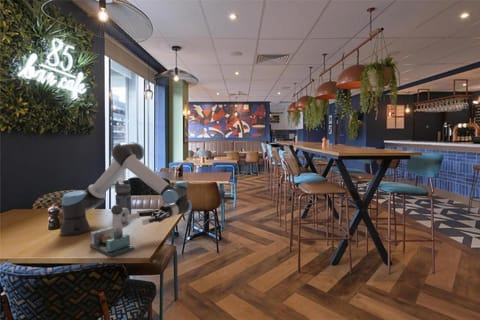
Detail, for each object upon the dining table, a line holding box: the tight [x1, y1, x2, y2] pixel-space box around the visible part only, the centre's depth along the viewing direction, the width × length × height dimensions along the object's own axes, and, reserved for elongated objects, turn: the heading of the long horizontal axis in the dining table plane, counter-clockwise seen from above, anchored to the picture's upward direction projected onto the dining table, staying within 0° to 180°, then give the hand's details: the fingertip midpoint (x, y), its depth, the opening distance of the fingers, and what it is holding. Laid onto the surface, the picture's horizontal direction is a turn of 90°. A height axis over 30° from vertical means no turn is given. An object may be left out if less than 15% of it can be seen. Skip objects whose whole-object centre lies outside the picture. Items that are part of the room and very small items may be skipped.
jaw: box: [106, 204, 131, 252], centre depth 129 cm, size 5×10×21 cm, turn 144°
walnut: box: [102, 234, 111, 243], centre depth 136 cm, size 4×4×4 cm
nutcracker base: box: [89, 226, 135, 259], centre depth 133 cm, size 22×11×8 cm, turn 54°
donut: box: [122, 208, 131, 224], centre depth 174 cm, size 10×4×10 cm, turn 160°
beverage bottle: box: [114, 179, 132, 217], centre depth 195 cm, size 10×13×25 cm
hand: (134, 220), depth 137 cm, fingers open, 13 cm apart
